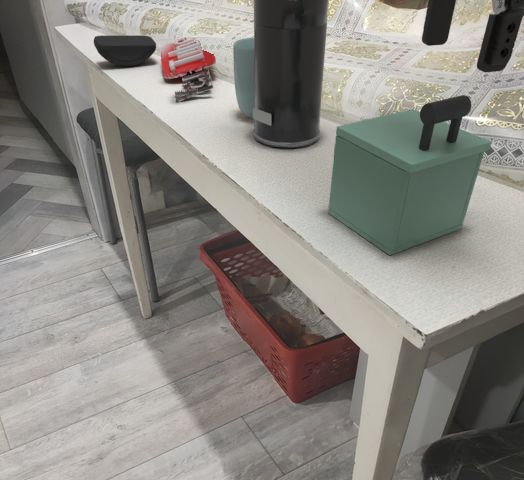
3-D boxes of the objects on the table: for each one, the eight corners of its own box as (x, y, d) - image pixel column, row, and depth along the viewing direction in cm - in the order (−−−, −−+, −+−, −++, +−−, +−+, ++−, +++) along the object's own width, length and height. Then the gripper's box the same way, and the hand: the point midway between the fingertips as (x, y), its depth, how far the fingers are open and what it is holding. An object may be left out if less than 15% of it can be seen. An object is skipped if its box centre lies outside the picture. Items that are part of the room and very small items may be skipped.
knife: (183, 54, 100) (209, 51, 99) (186, 67, 101) (211, 63, 101) (178, 84, 88) (207, 80, 88) (180, 98, 89) (209, 94, 89)
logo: (222, 77, 84) (163, 95, 84) (225, 88, 85) (167, 106, 86) (206, 27, 100) (157, 43, 101) (209, 37, 102) (160, 53, 102)
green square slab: (489, 149, 49) (506, 96, 46) (410, 173, 45) (421, 116, 42) (411, 116, 56) (420, 67, 53) (335, 134, 52) (340, 82, 49)
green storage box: (461, 228, 55) (485, 148, 49) (389, 255, 51) (406, 172, 46) (396, 191, 62) (410, 117, 56) (328, 213, 58) (335, 135, 52)
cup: (254, 105, 85) (253, 34, 78) (295, 113, 81) (297, 41, 75) (226, 118, 80) (222, 44, 73) (268, 127, 77) (268, 51, 70)
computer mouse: (97, 45, 96) (100, 69, 99) (157, 45, 99) (158, 68, 102) (91, 35, 100) (94, 58, 102) (149, 35, 103) (150, 57, 106)
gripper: (417, -224, 36) (381, 40, 47) (555, -262, 26) (468, 85, 37) (509, -220, 38) (453, 35, 49) (673, -254, 28) (556, 77, 39)
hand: (460, 56), depth 43 cm, fingers open, 8 cm apart
